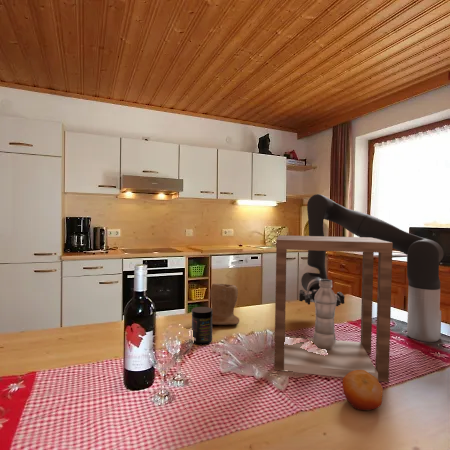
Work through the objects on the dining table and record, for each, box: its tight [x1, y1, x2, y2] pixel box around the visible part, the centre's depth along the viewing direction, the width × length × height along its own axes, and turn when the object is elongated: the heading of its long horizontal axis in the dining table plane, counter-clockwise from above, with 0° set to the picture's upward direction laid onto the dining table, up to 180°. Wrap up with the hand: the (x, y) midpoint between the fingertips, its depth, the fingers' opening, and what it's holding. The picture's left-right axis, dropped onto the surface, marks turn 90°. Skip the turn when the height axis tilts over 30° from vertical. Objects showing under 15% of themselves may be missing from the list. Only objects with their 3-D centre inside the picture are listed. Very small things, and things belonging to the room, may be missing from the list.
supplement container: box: [191, 306, 213, 346], centre depth 103 cm, size 7×7×10 cm
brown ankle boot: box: [209, 283, 240, 326], centre depth 122 cm, size 15×12×15 cm
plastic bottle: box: [312, 278, 337, 349], centre depth 95 cm, size 6×7×20 cm
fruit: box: [342, 370, 384, 411], centre depth 70 cm, size 8×8×8 cm
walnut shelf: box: [273, 234, 393, 383], centre depth 92 cm, size 20×28×34 cm
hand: (323, 302), depth 101 cm, fingers open, 8 cm apart
